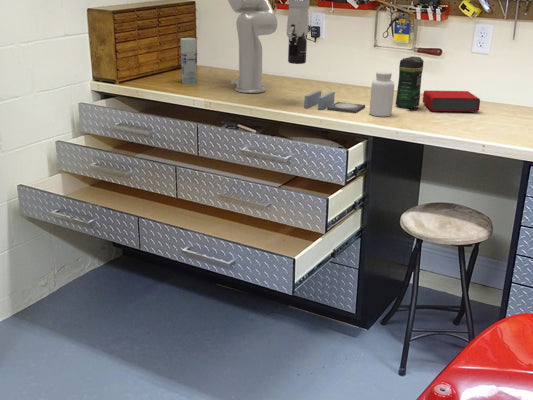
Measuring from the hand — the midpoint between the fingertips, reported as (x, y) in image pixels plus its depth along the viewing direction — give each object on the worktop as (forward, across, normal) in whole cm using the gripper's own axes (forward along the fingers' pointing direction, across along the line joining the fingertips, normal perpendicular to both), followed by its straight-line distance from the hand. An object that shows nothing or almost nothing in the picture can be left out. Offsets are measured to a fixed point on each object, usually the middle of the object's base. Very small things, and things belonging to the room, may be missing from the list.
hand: (297, 54), depth 238 cm
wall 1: (+19, 0, +7) cm, 20 cm away
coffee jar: (+19, -16, +39) cm, 47 cm away
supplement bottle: (+4, 0, 0) cm, 4 cm away
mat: (+19, 0, +20) cm, 28 cm away
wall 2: (+19, 0, +12) cm, 22 cm away
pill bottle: (+19, +3, +34) cm, 39 cm away
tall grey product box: (+19, -11, -56) cm, 60 cm away
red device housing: (+19, -24, +54) cm, 62 cm away
